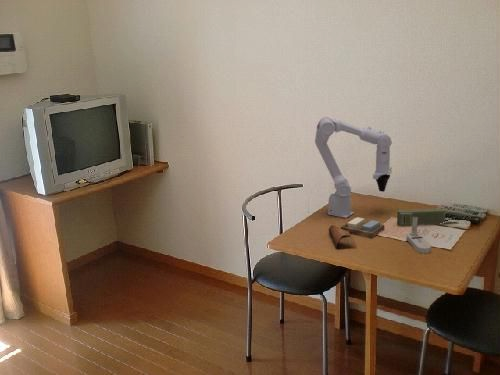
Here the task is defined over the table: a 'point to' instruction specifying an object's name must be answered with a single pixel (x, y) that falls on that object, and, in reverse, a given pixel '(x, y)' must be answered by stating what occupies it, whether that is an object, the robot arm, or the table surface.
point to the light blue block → (371, 226)
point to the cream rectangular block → (355, 222)
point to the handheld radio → (422, 217)
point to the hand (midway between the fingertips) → (381, 191)
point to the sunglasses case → (341, 238)
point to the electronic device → (418, 239)
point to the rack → (361, 232)
